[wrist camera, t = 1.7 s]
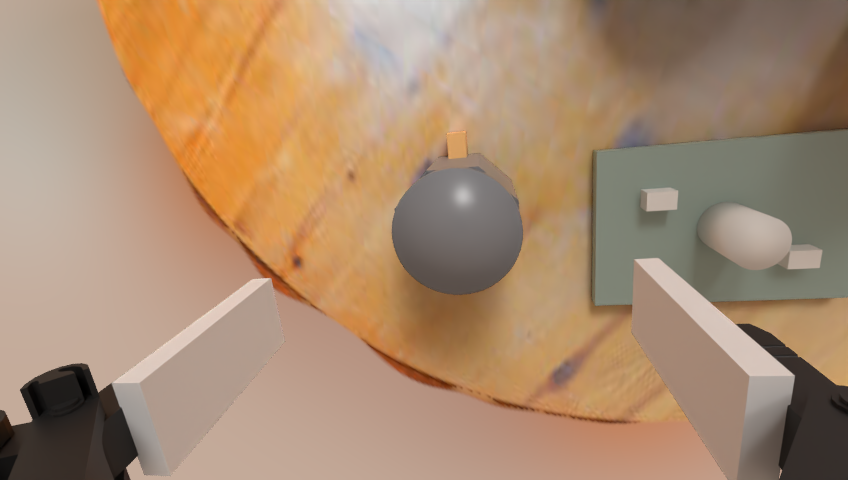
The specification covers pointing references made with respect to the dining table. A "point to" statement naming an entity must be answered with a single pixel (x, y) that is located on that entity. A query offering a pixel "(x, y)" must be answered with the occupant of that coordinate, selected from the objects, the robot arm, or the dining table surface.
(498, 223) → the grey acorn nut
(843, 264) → the post base
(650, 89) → the dining table surface
